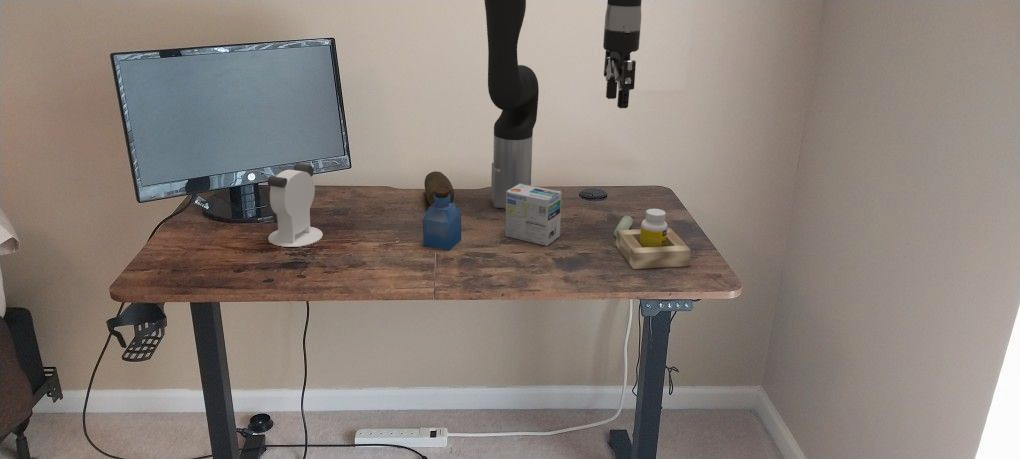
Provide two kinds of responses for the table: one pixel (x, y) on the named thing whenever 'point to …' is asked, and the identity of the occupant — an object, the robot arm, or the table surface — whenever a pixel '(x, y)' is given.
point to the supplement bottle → (653, 229)
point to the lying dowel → (624, 224)
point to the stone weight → (437, 185)
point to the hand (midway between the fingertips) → (616, 103)
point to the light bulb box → (533, 214)
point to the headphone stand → (293, 207)
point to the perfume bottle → (442, 222)
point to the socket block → (652, 250)
